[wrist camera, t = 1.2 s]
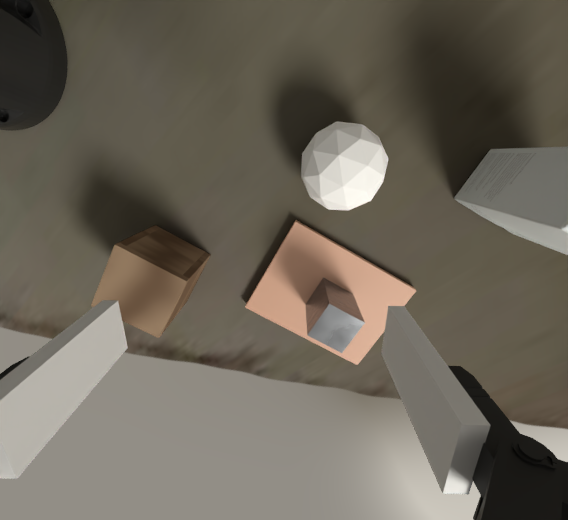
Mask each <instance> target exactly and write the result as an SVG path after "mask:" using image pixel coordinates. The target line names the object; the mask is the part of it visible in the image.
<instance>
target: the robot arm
mask: <svg viewBox="0 0 568 520" xmlns="http://www.w3.org/2000/svg"><path fill="white" fill-rule="evenodd" d="M66 77H67V53H66V46H65V41H64V37H63V33H62V30H61V27H60V24H59V21H58V19H57V17H56V14H55V12H54V10H53V8H52V6H51V5H50V3H49V1H48V0H0V129H1V130H21V129H26V128H29V127H32V126H34V125H36V124H38V123H40V122H41V121H43V120H44V119H45V118H47V117H48V116H49V115H50V114H51V113H52V111H53V110H54V109H55V107H56V106H57V104H58V103H59V101H60V99H61V96H62V94H63V91H64V87H65V83H66ZM127 348H128V347H127V342H126V337H125V332H124V327H123V322H122V318H121V313H120V308H119V303H118V301H117V300H102V301H101V302H100V303H98V304H97V305H96V306H95V307H93V308H92V309H91V310H89V311H88V312H87V313H86V314H84V315H83V316H82V317H80V318H79V319H78V320H77V321H75V322H74V323H73V324H71V325H70V326H69V327H68V328H66V329H65V330H64V331H62V332H61V333H60V334H59V335H57V336H56V337H55V338H53V339H52V340H51V341H50V342H48V343H47V344H46V345H45V346H43V347H42V348H41V349H39V350H38V351H37V352H35V353H34V354H33V355H32V356H30V357H27V358H25V359H23V360H21V361H19V362H17V363H15V364H13V365H12V366H10V367H9V368H8V369H6V370H5V371H4V372H2V373H1V374H0V478H7V479H17V478H18V477H19V476H20V475H21V474H22V472H23V471H24V470H25V469H26V468H27V466H28V465H29V464H30V463H31V462H32V461H33V459H34V458H35V457H36V456H37V455H38V453H39V452H40V451H41V450H42V449H43V447H44V446H45V445H46V444H47V443H48V442H49V440H50V439H51V438H52V437H53V436H54V434H55V433H56V432H57V431H58V430H59V429H60V427H61V426H62V425H63V424H64V423H65V421H66V420H67V419H68V418H69V417H70V415H71V414H72V413H73V412H74V411H75V410H76V408H77V407H78V406H79V405H80V404H81V403H82V401H83V400H84V399H85V398H86V397H87V395H88V394H89V393H90V392H91V391H92V389H93V388H94V387H95V386H96V385H97V384H98V382H99V381H100V380H101V379H102V378H103V376H104V375H105V374H106V373H107V372H108V371H109V369H110V368H111V367H112V366H113V365H114V363H115V362H116V361H117V360H118V359H119V358H120V356H121V355H122V354H123V353H124V352H125V350H126V349H127ZM381 354H382V356H383V359H384V361H385V363H386V365H387V368H388V370H389V372H390V375H391V377H392V379H393V381H394V384H395V386H396V388H397V390H398V393H399V395H400V397H401V400H402V402H403V404H404V406H405V409H406V411H407V413H408V416H409V418H410V420H411V422H412V425H413V427H414V429H415V431H416V434H417V436H418V438H419V440H420V443H421V445H422V447H423V450H424V452H425V454H426V456H427V459H428V461H429V463H430V465H431V468H432V470H433V472H434V474H435V477H436V479H437V482H438V484H439V486H440V488H441V491H442V493H444V494H445V493H447V494H469V491H470V488H471V485H472V482H473V481H474V483H475V485H476V487H477V489H478V490H479V492H480V494H481V497H480V500H479V503H478V505H477V508H476V511H475V514H474V517H473V519H474V520H568V462H564V461H561V460H558V459H557V458H556V457H555V455H554V454H553V453H552V452H551V451H550V450H549V449H547V448H546V447H545V446H544V445H543V444H541V443H539V442H538V441H536V440H534V439H533V438H530V437H528V436H525V435H522V434H520V433H519V432H518V431H517V429H516V428H515V427H514V426H513V424H512V423H511V422H510V421H509V419H508V418H507V417H506V416H505V414H504V413H503V412H502V411H501V410H500V408H499V407H498V406H497V405H496V403H495V402H494V401H493V400H492V399H490V396H489V395H488V393H487V392H486V391H485V390H484V389H482V386H481V385H480V384H479V382H478V381H477V380H476V379H475V377H474V376H473V375H471V374H470V373H469V372H467V371H466V370H465V369H463V368H462V367H461V366H447V364H446V363H445V362H444V360H443V359H442V358H441V356H440V355H439V353H438V352H437V351H436V349H435V348H434V346H433V345H432V344H431V342H430V341H429V340H428V338H427V337H426V335H425V334H424V333H423V331H422V330H421V329H420V327H419V326H418V324H417V323H416V322H415V320H414V319H413V317H412V316H411V315H410V313H409V312H408V311H407V309H406V308H405V306H388V311H387V318H386V325H385V332H384V339H383V346H382V353H381Z"/></svg>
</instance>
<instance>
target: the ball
mask: <svg viewBox="0 0 568 520" xmlns="http://www.w3.org/2000/svg"><path fill="white" fill-rule="evenodd" d="M387 163H388V157H387V155H386V152H385V150H384V148H383V145H382V143H381V141H380V139H379V137H378V136H377V135H376V134H374V133H373V132H372V131H370V130H369V129H368V128H367V127H365V126H364V125H363V124H355V123H346V122H335V123H333V124H331V125H329V126H328V127H326V128H324V129H322V130H321V131H319V132H317V133H316V134H315V136H314V137H313V138H312V140H311V141H310V143H309V144H308V146H307V147H306V149H305V150H304V151H303V153H302V167H301V177H302V180H303V182H304V184H305V187H306V189H307V192H308V194H309V196H310V197H311V198H312V199H314V200H315V201H317V202H318V203H320V204H321V205H323V206H324V207H325V208H327V209H329V210H351V209H353V208H355V207H358V206H360V205H362V204H364V203H367V202H369V201H371V200H372V198H373V197H374V195H375V194H376V192H377V191H378V189H379V188H380V186H381V184H382V183H383V180H384V176H385V172H386V167H387Z"/></svg>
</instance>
